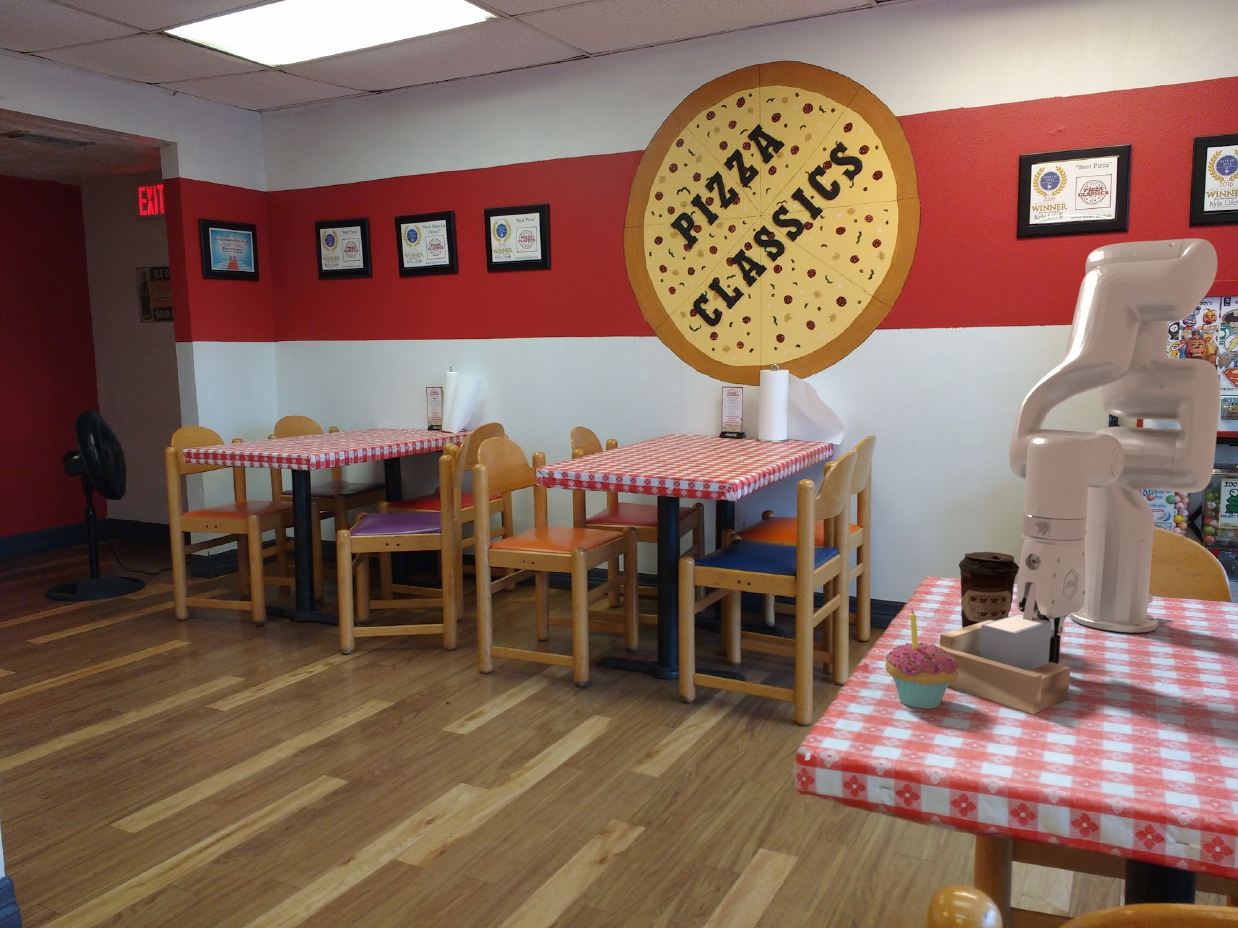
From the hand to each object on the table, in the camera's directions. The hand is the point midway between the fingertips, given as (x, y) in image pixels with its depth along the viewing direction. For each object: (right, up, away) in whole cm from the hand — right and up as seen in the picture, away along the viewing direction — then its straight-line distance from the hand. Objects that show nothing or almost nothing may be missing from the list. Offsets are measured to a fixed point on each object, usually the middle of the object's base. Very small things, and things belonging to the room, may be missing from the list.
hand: (1044, 661), depth 124 cm
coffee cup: (-3, 0, +14) cm, 14 cm away
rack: (-7, -2, -5) cm, 8 cm away
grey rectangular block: (-6, -2, -5) cm, 8 cm away
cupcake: (-21, -3, -11) cm, 24 cm away
